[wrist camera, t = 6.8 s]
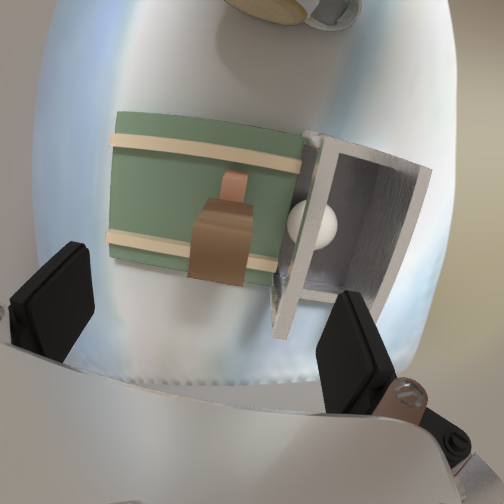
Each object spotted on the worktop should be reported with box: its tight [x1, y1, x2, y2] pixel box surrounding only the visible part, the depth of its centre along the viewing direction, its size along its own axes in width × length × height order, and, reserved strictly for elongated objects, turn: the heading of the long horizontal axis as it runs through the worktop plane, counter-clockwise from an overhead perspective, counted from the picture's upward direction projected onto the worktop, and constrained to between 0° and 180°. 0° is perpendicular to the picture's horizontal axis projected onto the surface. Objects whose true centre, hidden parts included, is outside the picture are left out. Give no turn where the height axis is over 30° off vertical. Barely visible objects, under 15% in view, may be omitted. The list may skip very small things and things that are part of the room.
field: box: [106, 112, 304, 286], centre depth 24 cm, size 13×15×2 cm
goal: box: [269, 131, 432, 340], centre depth 23 cm, size 14×8×8 cm, turn 170°
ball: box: [287, 200, 337, 250], centre depth 24 cm, size 4×4×4 cm
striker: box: [187, 169, 254, 287], centre depth 20 cm, size 6×3×9 cm, turn 170°
